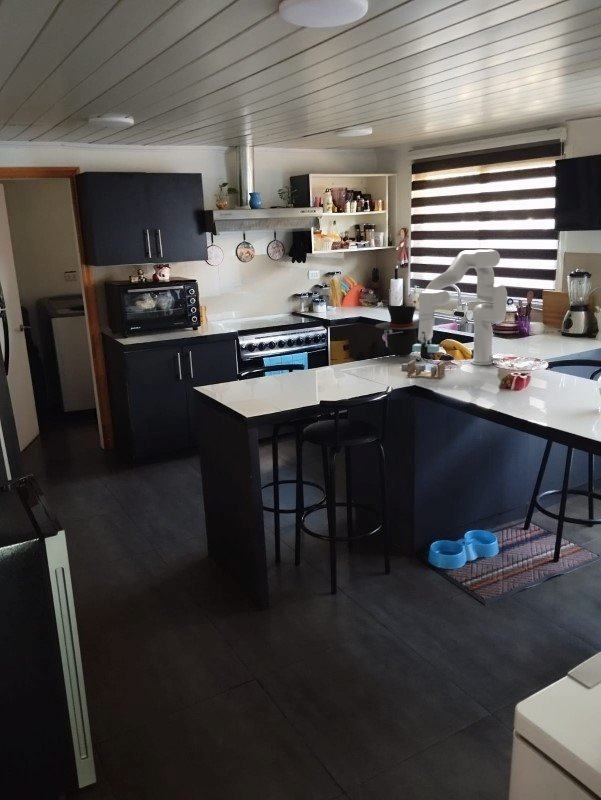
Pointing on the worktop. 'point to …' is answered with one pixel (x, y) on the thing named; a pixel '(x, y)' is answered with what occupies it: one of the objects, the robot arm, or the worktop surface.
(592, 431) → the worktop surface
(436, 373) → the peg cradle
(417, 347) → the shelf board
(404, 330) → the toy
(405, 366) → the riser
